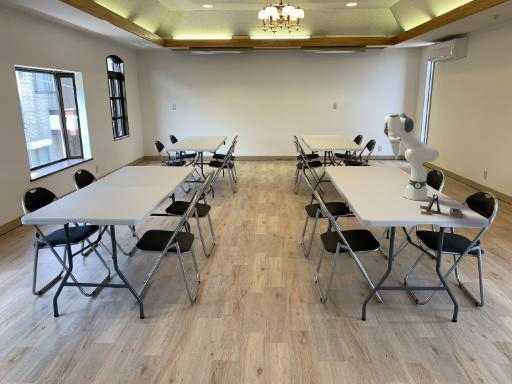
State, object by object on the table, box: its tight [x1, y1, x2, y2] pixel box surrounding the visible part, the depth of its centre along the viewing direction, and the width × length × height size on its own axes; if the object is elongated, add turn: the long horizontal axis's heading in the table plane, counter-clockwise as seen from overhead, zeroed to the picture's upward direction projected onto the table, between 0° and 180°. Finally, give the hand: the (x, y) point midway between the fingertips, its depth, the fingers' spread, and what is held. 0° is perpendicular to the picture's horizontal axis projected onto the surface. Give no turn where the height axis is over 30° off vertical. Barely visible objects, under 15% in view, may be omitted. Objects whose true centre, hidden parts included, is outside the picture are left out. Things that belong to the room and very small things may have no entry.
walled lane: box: [419, 205, 434, 216], centre depth 259 cm, size 16×7×2 cm, turn 160°
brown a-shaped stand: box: [425, 193, 442, 215], centre depth 257 cm, size 9×6×12 cm, turn 70°
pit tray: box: [448, 207, 464, 219], centre depth 253 cm, size 12×6×3 cm, turn 160°
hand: (396, 159), depth 261 cm, fingers closed
